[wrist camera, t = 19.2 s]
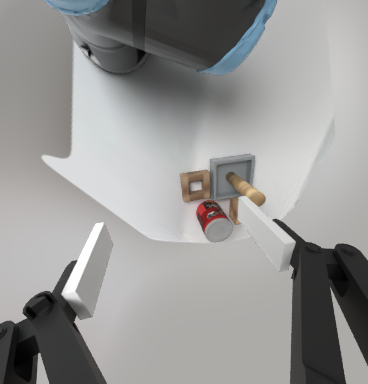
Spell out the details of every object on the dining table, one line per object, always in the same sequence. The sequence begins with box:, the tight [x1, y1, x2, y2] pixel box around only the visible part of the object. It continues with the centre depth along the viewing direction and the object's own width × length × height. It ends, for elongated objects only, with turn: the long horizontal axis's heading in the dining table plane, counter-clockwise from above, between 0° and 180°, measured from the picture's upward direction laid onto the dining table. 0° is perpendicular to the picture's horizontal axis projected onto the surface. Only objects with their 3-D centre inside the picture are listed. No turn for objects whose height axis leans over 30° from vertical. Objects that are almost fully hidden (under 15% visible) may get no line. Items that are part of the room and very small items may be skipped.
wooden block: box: [229, 196, 241, 225], centre depth 54 cm, size 8×3×5 cm, turn 5°
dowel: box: [226, 172, 266, 207], centre depth 44 cm, size 3×3×15 cm
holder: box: [180, 170, 210, 202], centre depth 49 cm, size 8×8×2 cm
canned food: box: [196, 201, 232, 242], centre depth 50 cm, size 8×8×11 cm
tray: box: [210, 154, 255, 201], centre depth 50 cm, size 12×12×3 cm
